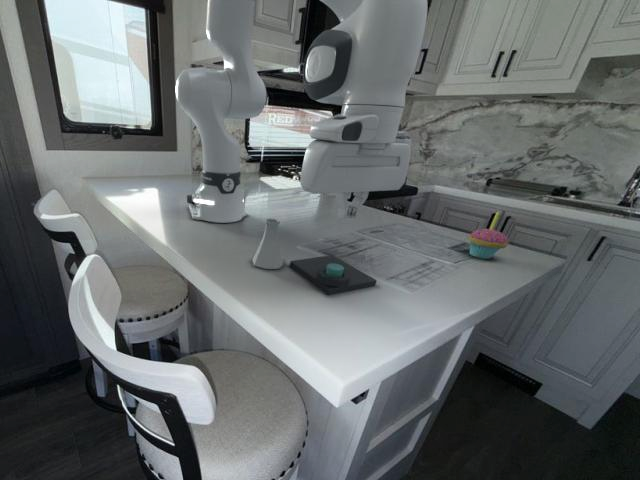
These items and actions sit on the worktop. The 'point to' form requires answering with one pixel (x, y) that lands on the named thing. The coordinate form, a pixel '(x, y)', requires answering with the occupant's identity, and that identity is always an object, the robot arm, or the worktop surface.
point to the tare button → (334, 270)
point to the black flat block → (330, 285)
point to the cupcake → (487, 241)
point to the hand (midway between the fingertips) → (346, 217)
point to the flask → (269, 248)
